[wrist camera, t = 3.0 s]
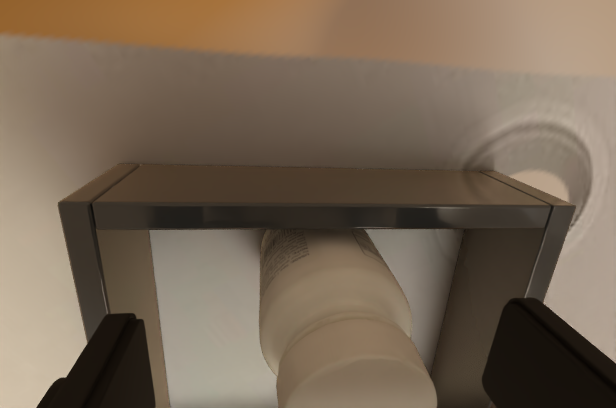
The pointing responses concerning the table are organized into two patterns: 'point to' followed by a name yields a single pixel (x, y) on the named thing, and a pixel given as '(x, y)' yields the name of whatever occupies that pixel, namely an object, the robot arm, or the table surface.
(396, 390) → the pill bottle
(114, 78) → the table surface
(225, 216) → the tray
